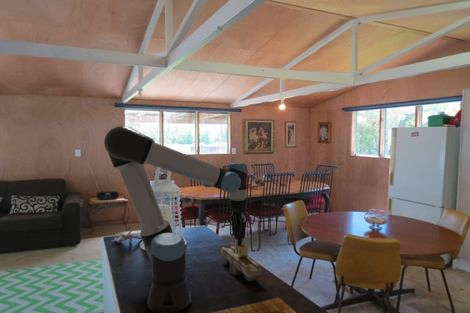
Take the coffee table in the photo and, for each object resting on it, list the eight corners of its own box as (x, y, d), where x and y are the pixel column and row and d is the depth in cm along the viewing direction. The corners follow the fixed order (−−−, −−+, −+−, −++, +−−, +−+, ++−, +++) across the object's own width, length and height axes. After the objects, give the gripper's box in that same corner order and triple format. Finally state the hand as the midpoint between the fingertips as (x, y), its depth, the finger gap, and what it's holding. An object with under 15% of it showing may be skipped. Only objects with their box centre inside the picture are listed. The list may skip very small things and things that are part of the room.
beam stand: (262, 283, 129) (262, 265, 128) (246, 287, 126) (246, 269, 125) (233, 259, 154) (233, 244, 154) (219, 262, 151) (219, 247, 151)
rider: (249, 261, 135) (249, 244, 135) (240, 263, 134) (240, 246, 133) (245, 258, 139) (244, 241, 138) (236, 259, 137) (236, 243, 137)
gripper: (253, 200, 134) (253, 256, 135) (239, 195, 146) (239, 247, 147) (236, 202, 131) (237, 259, 132) (224, 196, 143) (224, 249, 144)
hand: (238, 252), depth 140 cm, fingers closed
